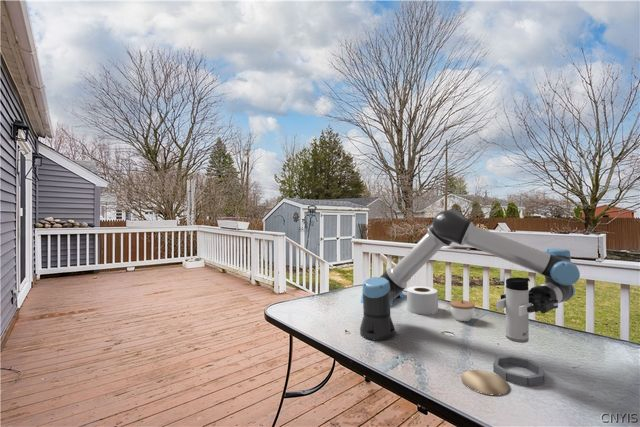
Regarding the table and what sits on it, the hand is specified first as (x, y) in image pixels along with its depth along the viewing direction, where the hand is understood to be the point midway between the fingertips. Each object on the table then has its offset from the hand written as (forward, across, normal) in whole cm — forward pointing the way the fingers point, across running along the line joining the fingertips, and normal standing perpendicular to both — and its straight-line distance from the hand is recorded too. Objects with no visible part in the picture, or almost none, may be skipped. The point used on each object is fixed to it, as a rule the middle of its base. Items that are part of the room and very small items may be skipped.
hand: (508, 308), depth 98 cm
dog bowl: (-26, +88, -24) cm, 95 cm away
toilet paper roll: (-29, +60, -23) cm, 71 cm away
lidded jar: (-33, +40, -23) cm, 57 cm away
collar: (-5, 0, -22) cm, 23 cm away
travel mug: (-5, 0, -11) cm, 12 cm away
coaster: (+9, +3, -22) cm, 24 cm away
